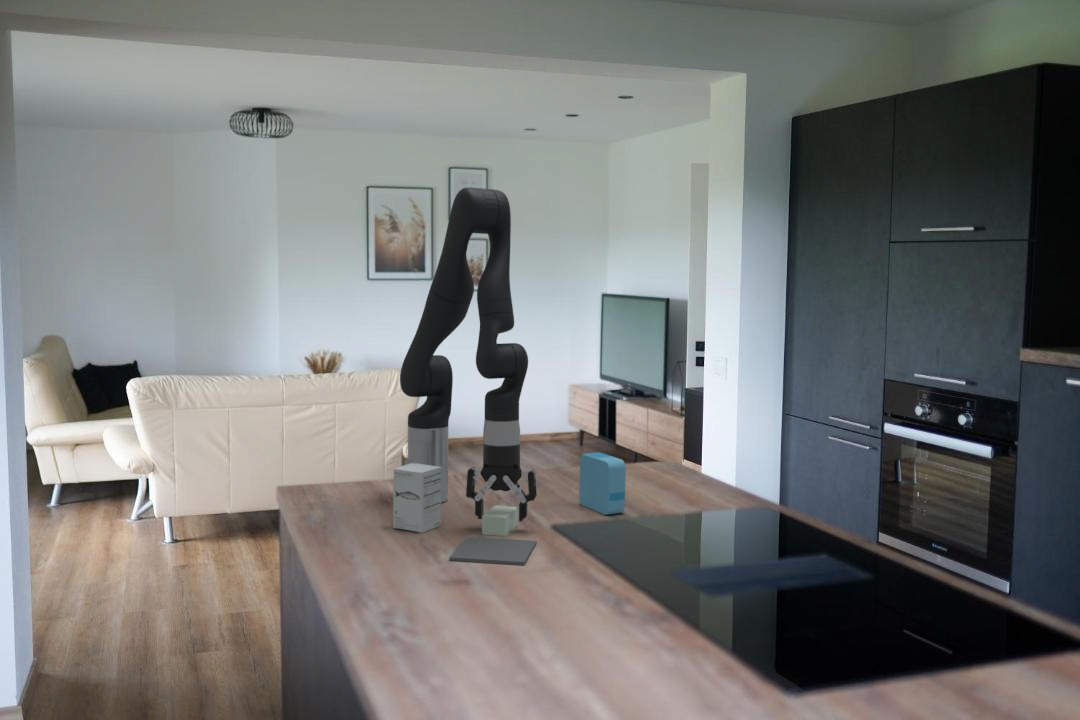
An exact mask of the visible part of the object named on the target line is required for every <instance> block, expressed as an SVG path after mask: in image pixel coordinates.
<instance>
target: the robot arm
mask: <svg viewBox="0 0 1080 720" xmlns="http://www.w3.org/2000/svg"><path fill="white" fill-rule="evenodd" d="M511 216H512V213H511V205H510V202H509V198H508V197H507V195H506V194H505V193H504V192H503V191H501V190H498V189H491V188H483V187H480V188H479V187H463V188H461V189H460V190H459V191H458V192H457V193H456V195H455V197H454V199H453V202H452V206H451V209H450V213H449V217H448V223H447V227H446V231H445V236H444V242H443V246H442V249H441V252H440V253H441V254H440V256H439V257H440V258H439V261H438V264H437V267H436V270H435V273H434V275H433V279H432V282H431V284H430V288H429V291H428V294H427V298H426V301H425V304H424V308H423V312H422V314H421V317H420V319H419V324H418V326H417V329H416V331H415V335H414V337H413V338H412V341H411V342H410V343H411V344H410V345H409V348H408V350H407V353H406V355H405V356H404V360H403V362H402V366H401V370H400V374H399V384H400V389H401V391H402V392H403V394H404V395H406V396H408V397H411V398H424V397H425V398H426V399H425V401H424V403H422V405H420V407H418V408H416V409H414V410H412V411H411V412H410V413H409V414H408V415H407V458H406V459H405V460H404V465H407V464H410V463H417V464H424V465H431V466H438V467H442V473H441V503H444V502H446V501H448V499H449V422H450V421H449V420H450V417H451V411H452V399H453V395H452V394H453V377H454V376H453V374H454V373H453V368H452V365H451V362H450V360H449V359H448V358H447V357H446V356H444V355H439V354H435V353H436V351H437V349H438V348H439V346H440V345H441V344H442V343H443V342H444V341H445V340H446V339H447V338H448V337H449V336H450V335H451V334H452V333H454V331H456V329H457V328H458V327H459V326H460V325H461V323H462V322H463V321H464V320H465V318H466V316H467V314H468V311H469V308H470V305H471V302H472V300H473V297H474V293H475V284H474V278H473V275H472V272H471V270H470V266H469V263H468V257H467V251H468V246H469V242H470V240H471V236H472V235H473V234H483V235H486V234H487V236H488V241H489V254H488V258H487V262H486V265H485V267H484V269H483V272H482V275H481V276H480V279H479V282H478V285H477V290H476V301H477V312H478V316H479V317H478V319H479V332H478V342H477V348H476V353H475V366H476V369H477V371H478V373H479V374H480V376H481V377H483V378H485V379H488V380H493V379H494V380H495V379H503V381H502V383H501V386H499V387H496V388H495V389H491V390H489V391H488V392H486V394H485V396H484V423H483V429H482V430H483V433H482V435H483V437H482V438H483V439H482V442H483V443H482V444H483V445H482V447H483V449H482V451H483V452H482V453H483V454H482V468H476V467H474V466H471V467H470V468H469V469H468V470H467V472H466V473H467V476H466V489H465V491H466V492H465V496H466V498H468V499H472V500H474V515H475V516H476V517H477V518H478V519H479V520H482V515H484V514H485V513H484V511H485V509H484V506H485V505H484V504H485V503H484V502H485V501H484V499H483V497H484V496H485V495H486V493H488V491H489V490H490V489H491V490H492V491H494V492H495V491H496V492H497V491H503V492H509V491H511V492H512V493H513V494H514V495H515V496H516V497H517V499H518V500H519V501H520V502H519V503H518V517H519V518H518V522H524V520H525V519H526V518H527V516H528V502H530V501H532V502H533V501H535V499H536V497H537V496H538V495H537V478H536V477H537V475H536V473H537V472H536V470H535V469H530V470H523V469H522V468H521V440H522V439H521V427H520V398H521V394H522V390H523V387H524V383H525V379H526V375H527V372H528V367H529V357H528V353H527V350H526V348H525V347H524V345H522V344H520V343H516V342H508V343H498V341H497V340H498V337H499V335H500V334H503V333H507V332H510V331H511V330H513V328H514V326H515V317H514V316H515V315H514V308H513V301H512V300H513V299H512V292H511V291H512V290H511V281H510V280H511V279H510V278H511V277H510V268H511V266H510V265H511V263H510V261H511V238H512V237H511V232H512V230H511V227H512V226H511V225H512V223H511V222H512V221H511V220H512V217H511ZM479 476H481V478H482V479H483V480H484V482H485V483H484V485H482V487H481V489H480V490H479V491H475V490H476V489H475V488H476V480H477V479H478V478H479ZM522 477H523V478H524V481H525V482H527V485H528V493H527V494H526V492H525V491H524V489H523V486H521V484H520V483H519V481H520V479H521V478H522Z"/></svg>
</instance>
